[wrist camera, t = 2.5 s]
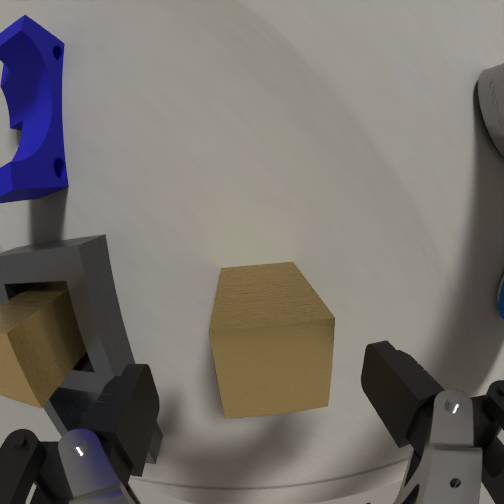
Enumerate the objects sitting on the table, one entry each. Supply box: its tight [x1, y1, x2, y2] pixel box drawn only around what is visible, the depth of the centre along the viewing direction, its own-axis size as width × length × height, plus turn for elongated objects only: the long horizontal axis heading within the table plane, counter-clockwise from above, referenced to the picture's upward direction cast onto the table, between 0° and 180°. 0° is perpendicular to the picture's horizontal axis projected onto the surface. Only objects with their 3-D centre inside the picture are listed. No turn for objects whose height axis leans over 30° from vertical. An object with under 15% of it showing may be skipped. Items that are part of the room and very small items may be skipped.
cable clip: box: [0, 15, 69, 203], centre depth 11 cm, size 12×4×6 cm, turn 10°
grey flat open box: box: [0, 235, 163, 464], centre depth 16 cm, size 9×18×4 cm, turn 4°
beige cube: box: [0, 282, 87, 408], centre depth 13 cm, size 4×4×8 cm
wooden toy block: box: [209, 262, 335, 418], centre depth 14 cm, size 4×4×8 cm
